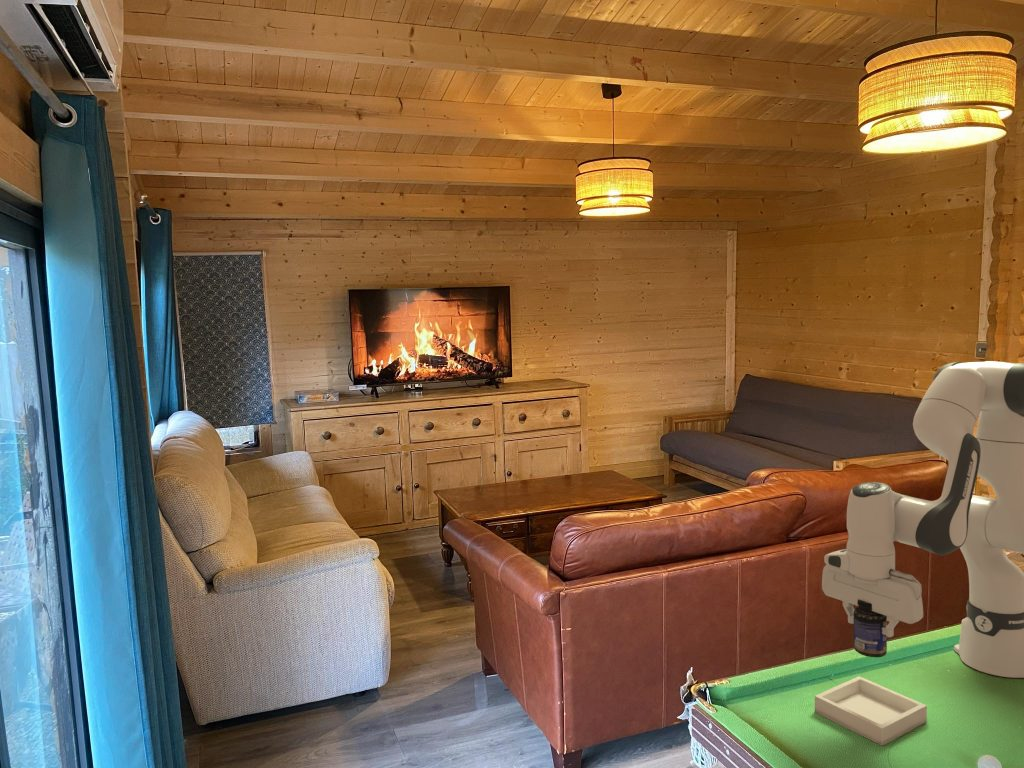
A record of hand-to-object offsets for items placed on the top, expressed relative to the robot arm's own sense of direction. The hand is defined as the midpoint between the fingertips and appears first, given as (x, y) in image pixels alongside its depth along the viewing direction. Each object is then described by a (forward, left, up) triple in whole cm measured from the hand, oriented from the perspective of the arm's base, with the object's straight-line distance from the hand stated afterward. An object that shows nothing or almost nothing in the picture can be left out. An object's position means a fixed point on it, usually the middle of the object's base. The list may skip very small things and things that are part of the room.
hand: (870, 629), depth 150 cm
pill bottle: (0, 0, -5) cm, 5 cm away
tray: (0, 0, -19) cm, 19 cm away
